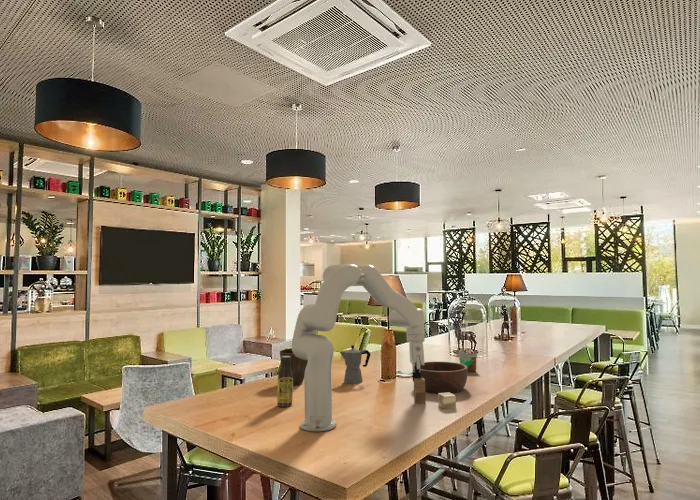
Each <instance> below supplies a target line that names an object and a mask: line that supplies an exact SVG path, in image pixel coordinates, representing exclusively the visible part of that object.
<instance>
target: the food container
mask: <svg viewBox="0 0 700 500" xmlns="http://www.w3.org/2000/svg"><path fill="white" fill-rule="evenodd" d="M458 357H459V363H460V364H463V365H466V366H467V367H468V373H476V372H477V371H476V370H477V358H478V355H477V353H475V352H474V353H471V352H465V351H464V350H459V351H458Z"/></svg>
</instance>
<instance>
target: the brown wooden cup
mask: <svg viewBox="0 0 700 500" xmlns="http://www.w3.org/2000/svg"><path fill="white" fill-rule="evenodd" d="M282 356H291V361H290V366H291V367H290V368H291V369H292V371H293V386H298V385H302V384H303V382H304V374H305V369H306V366H307V363H308V360H303V359H300V358H298V357H296V356H295V355H294V354H293V352H292V348H288V349H281V350H280V351H279V358H280V359H281V357H282Z"/></svg>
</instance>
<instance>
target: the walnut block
mask: <svg viewBox="0 0 700 500" xmlns="http://www.w3.org/2000/svg"><path fill="white" fill-rule="evenodd" d="M426 397H427V396H426V391H425V379H424V378H414V382H413V403H414V405H415V406H426V405H427V404H426Z"/></svg>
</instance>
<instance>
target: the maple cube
mask: <svg viewBox="0 0 700 500" xmlns="http://www.w3.org/2000/svg"><path fill="white" fill-rule="evenodd" d="M437 394H438V395H437V397H438V400H437V401H438V406H439V407H440V408H441V409H444V410H450V409H457V404H456V403H457V399H456V398H457V396H456V395H455V394H454V393H450V392H448V393H437Z"/></svg>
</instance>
